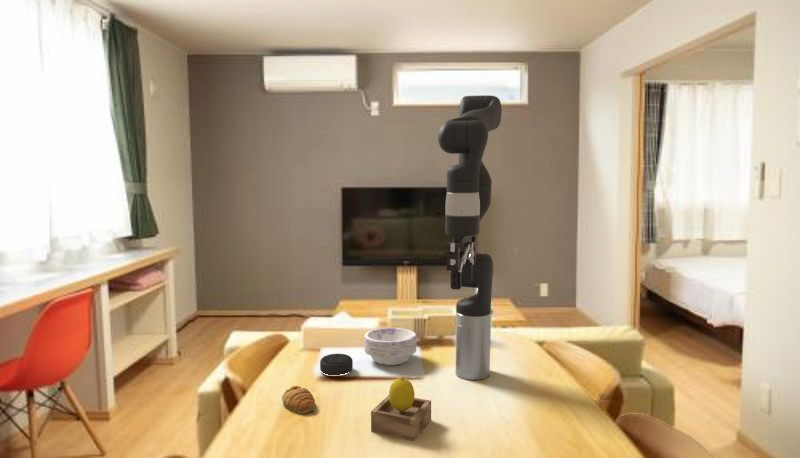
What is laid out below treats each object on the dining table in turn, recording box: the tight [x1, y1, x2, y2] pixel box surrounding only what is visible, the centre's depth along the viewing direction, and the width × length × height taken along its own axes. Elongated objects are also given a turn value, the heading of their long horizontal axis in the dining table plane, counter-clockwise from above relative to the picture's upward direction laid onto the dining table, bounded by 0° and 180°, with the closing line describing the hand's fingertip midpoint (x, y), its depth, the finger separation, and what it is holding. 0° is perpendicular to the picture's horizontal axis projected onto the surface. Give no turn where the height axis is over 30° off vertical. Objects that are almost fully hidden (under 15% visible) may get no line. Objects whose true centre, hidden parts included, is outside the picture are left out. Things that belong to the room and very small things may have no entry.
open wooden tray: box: [370, 394, 432, 441], centre depth 120 cm, size 10×10×4 cm
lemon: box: [388, 376, 415, 413], centre depth 120 cm, size 6×6×8 cm
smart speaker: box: [319, 353, 354, 375], centre depth 152 cm, size 9×9×4 cm
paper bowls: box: [363, 327, 418, 366], centre depth 160 cm, size 15×15×8 cm
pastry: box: [281, 385, 316, 414], centre depth 130 cm, size 9×7×4 cm
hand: (461, 285), depth 123 cm, fingers open, 8 cm apart
